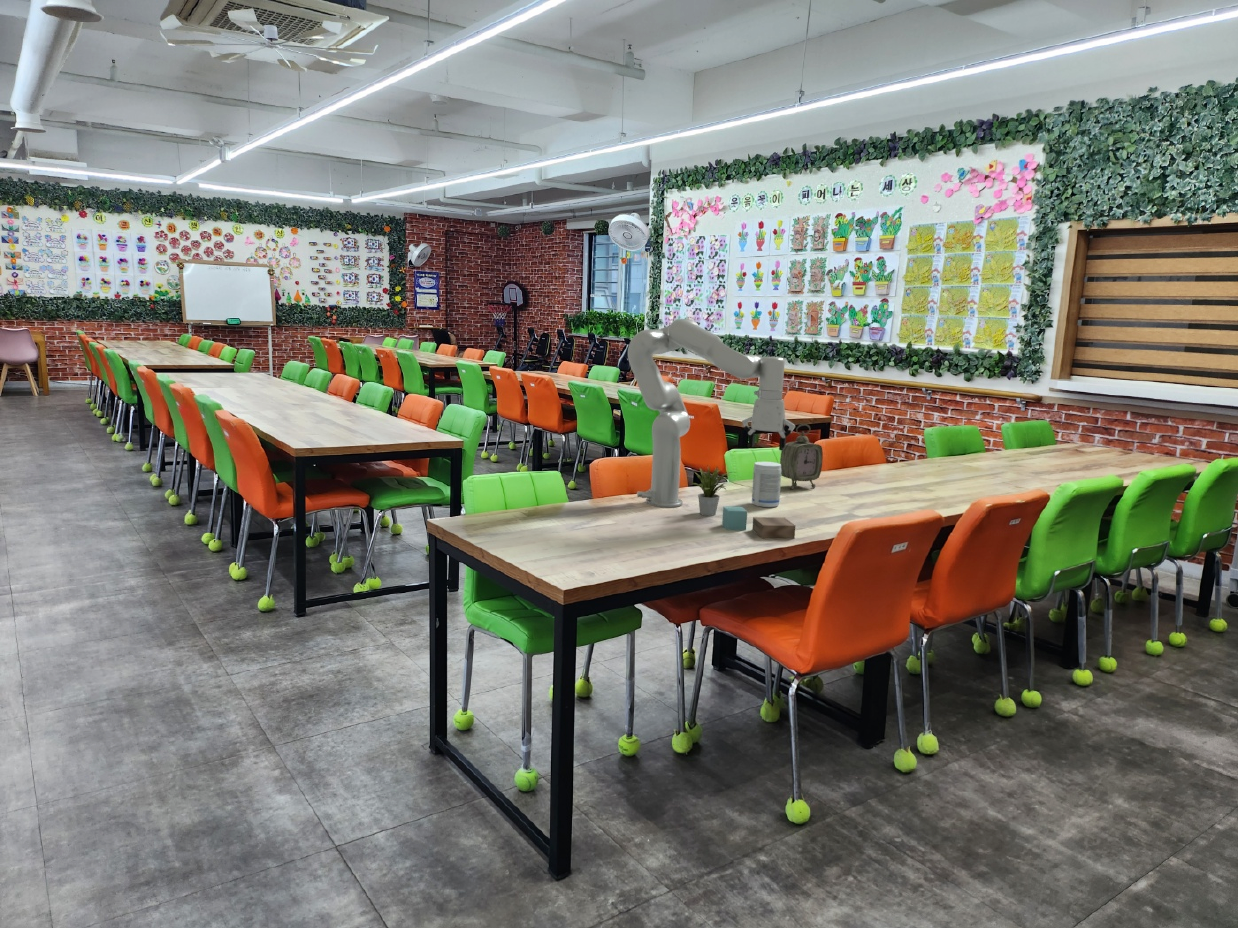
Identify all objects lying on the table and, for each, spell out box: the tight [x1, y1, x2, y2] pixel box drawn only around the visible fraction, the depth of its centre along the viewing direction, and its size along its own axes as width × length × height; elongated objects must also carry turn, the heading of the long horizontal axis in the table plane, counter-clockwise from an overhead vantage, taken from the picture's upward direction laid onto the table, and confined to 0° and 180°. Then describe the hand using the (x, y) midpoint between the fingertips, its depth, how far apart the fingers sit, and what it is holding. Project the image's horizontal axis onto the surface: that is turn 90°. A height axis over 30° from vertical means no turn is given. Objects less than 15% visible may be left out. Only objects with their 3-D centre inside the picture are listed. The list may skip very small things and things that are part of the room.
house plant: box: [690, 465, 733, 517], centre depth 276 cm, size 14×14×16 cm
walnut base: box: [751, 516, 796, 539], centre depth 256 cm, size 10×10×4 cm
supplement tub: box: [751, 461, 782, 508], centre depth 295 cm, size 10×10×15 cm
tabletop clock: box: [779, 423, 824, 490], centre depth 328 cm, size 14×9×25 cm, turn 119°
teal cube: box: [721, 506, 748, 531], centre depth 262 cm, size 6×6×6 cm
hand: (766, 448), depth 275 cm, fingers open, 9 cm apart
